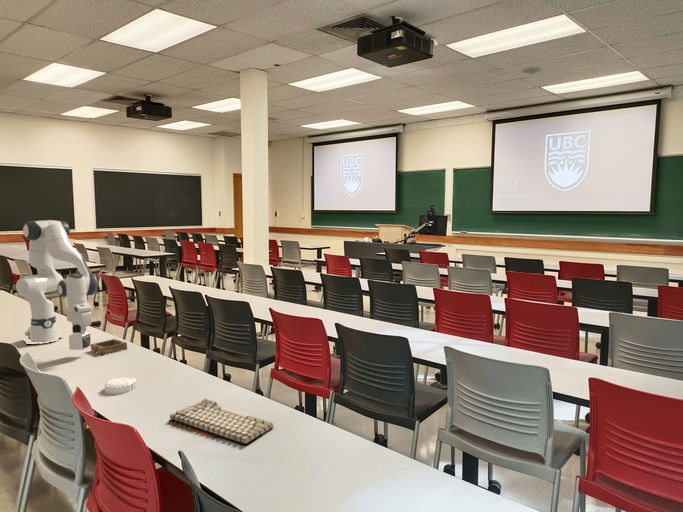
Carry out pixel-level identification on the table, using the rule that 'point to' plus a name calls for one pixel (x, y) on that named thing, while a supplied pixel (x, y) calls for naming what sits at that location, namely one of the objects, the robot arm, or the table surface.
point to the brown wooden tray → (109, 346)
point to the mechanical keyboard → (220, 423)
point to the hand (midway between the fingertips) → (79, 332)
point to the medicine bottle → (79, 339)
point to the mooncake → (120, 385)
